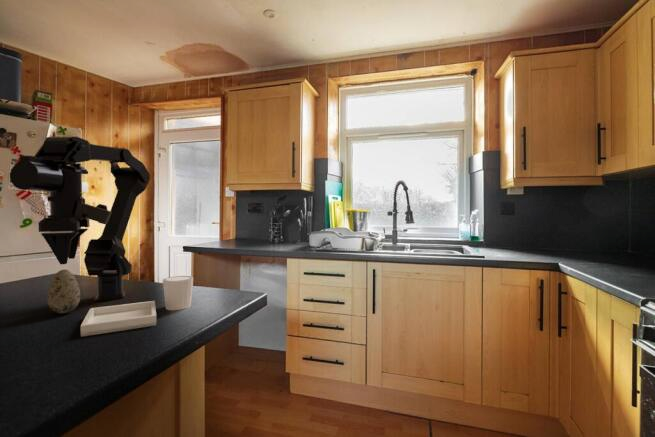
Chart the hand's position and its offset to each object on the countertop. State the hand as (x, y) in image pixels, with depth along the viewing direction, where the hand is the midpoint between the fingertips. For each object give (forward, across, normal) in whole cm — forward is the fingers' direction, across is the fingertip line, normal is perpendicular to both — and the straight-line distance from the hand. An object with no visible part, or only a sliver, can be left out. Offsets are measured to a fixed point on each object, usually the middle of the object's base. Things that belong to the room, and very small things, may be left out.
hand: (67, 261), depth 76 cm
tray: (+12, -12, -11) cm, 20 cm away
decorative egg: (+12, +1, +1) cm, 12 cm away
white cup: (+12, -6, -22) cm, 26 cm away
